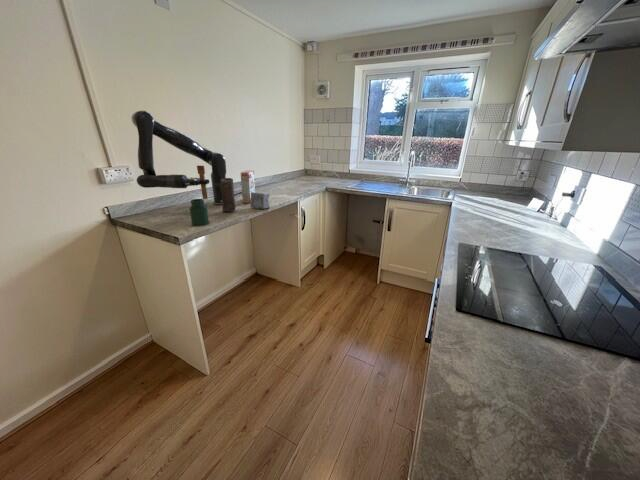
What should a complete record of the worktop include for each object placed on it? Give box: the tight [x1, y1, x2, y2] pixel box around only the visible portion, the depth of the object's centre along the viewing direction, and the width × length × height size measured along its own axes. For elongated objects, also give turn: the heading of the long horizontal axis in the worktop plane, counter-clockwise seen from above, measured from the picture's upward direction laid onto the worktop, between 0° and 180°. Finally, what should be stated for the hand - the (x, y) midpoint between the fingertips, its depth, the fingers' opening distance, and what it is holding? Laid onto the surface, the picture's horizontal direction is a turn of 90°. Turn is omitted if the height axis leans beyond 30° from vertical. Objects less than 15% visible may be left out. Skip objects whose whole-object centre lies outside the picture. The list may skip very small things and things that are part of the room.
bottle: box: [189, 198, 210, 227], centre depth 135 cm, size 8×8×12 cm
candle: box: [220, 177, 236, 213], centre depth 156 cm, size 8×7×20 cm
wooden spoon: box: [196, 165, 209, 200], centre depth 146 cm, size 3×4×18 cm
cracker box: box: [240, 169, 256, 204], centre depth 182 cm, size 14×6×21 cm, turn 179°
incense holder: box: [250, 191, 270, 210], centre depth 167 cm, size 10×8×10 cm
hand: (208, 181), depth 146 cm, fingers closed on wooden spoon, 2 cm apart
